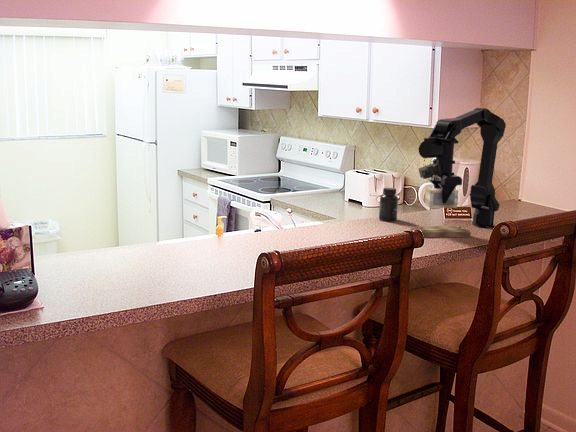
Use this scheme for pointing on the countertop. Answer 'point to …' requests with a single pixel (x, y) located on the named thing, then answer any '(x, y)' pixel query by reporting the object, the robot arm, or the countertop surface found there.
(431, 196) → the ash frame block
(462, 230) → the notched ledge
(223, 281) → the countertop surface
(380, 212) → the supplement bottle
